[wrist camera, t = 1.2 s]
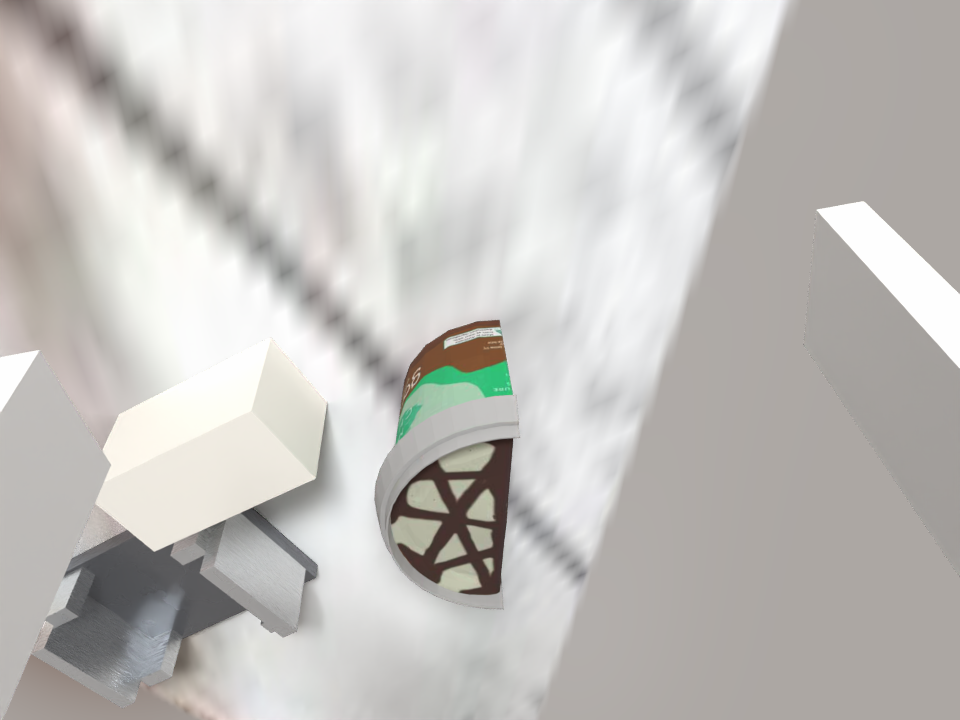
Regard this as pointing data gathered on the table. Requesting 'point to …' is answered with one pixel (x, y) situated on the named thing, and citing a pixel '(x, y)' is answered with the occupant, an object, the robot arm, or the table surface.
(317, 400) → the cream rectangular block
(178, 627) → the mount
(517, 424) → the food container
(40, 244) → the table surface
